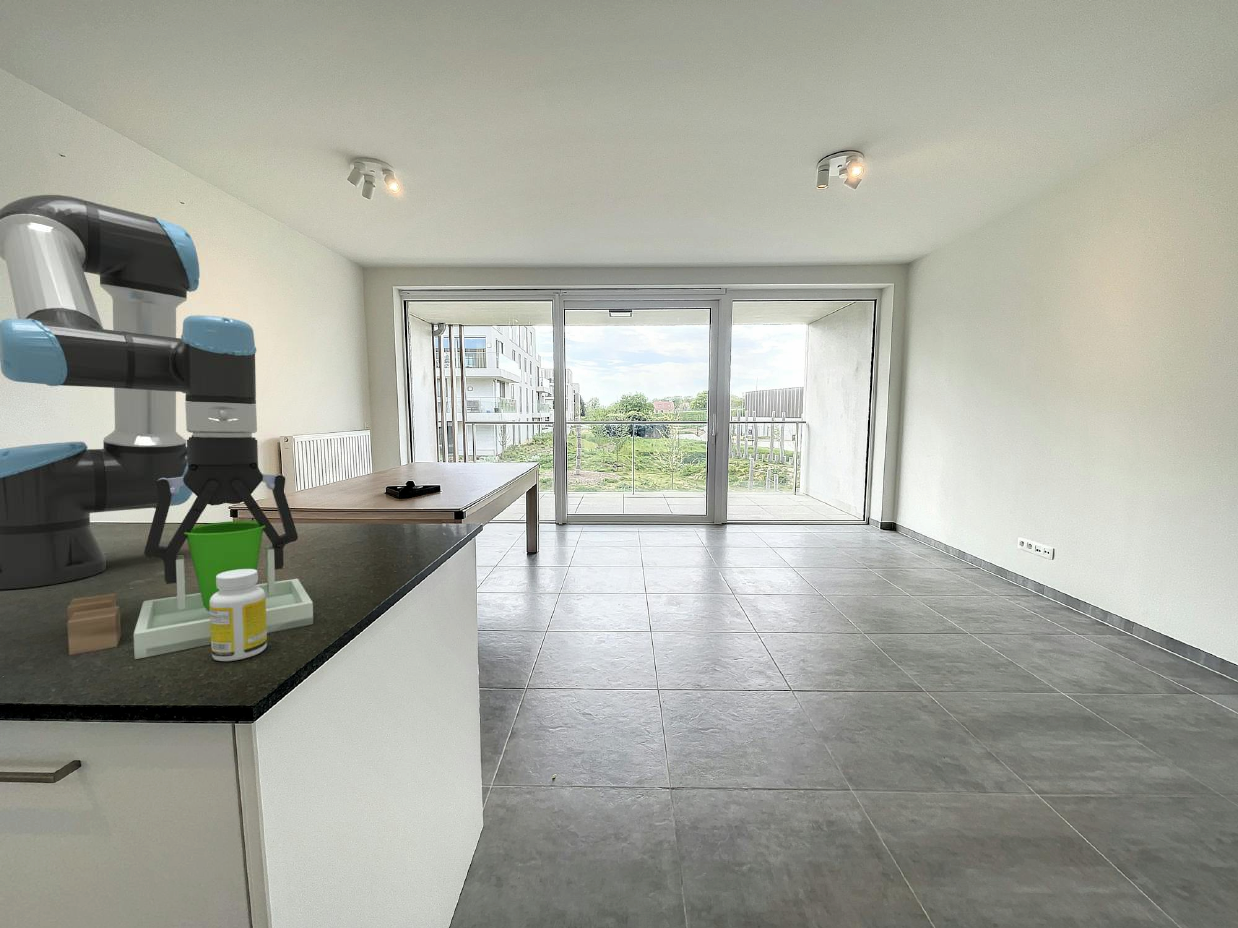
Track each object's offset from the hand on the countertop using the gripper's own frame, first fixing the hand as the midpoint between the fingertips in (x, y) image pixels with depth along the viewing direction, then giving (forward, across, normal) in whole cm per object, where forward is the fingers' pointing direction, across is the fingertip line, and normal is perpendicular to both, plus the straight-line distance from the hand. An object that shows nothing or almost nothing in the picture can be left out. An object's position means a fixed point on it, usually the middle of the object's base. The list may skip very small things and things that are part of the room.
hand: (228, 598), depth 70 cm
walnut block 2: (+4, -13, +1) cm, 14 cm away
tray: (+3, 0, 0) cm, 3 cm away
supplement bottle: (+4, +1, -12) cm, 12 cm away
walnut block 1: (+4, -14, +8) cm, 16 cm away
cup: (+1, 0, 0) cm, 1 cm away
